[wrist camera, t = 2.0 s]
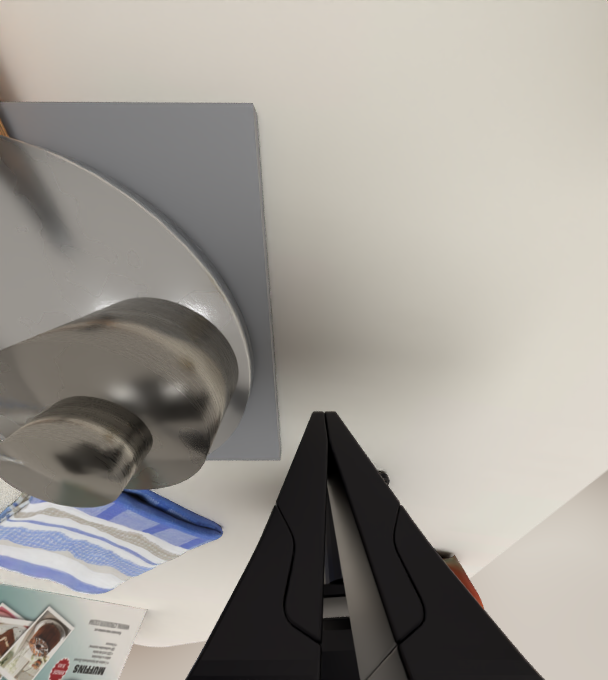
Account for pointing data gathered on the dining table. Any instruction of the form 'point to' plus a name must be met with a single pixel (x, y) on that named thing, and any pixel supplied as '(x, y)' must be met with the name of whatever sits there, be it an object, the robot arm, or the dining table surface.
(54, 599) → the cake mix box
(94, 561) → the dish towel
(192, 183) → the plinth
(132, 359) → the stepped metal cylinder
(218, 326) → the turntable
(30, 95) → the dining table surface
